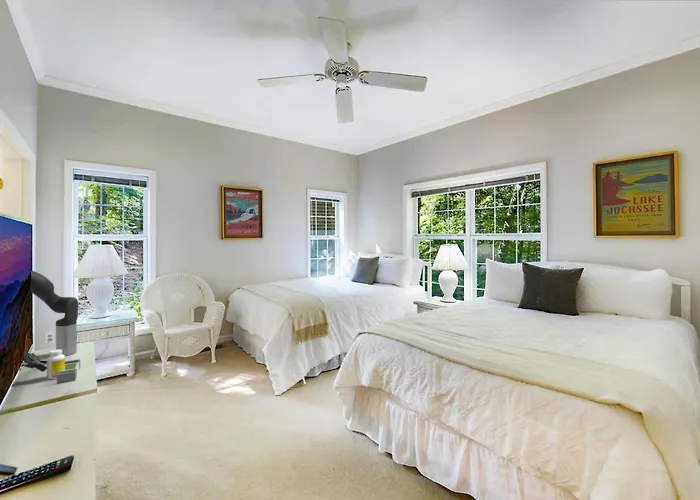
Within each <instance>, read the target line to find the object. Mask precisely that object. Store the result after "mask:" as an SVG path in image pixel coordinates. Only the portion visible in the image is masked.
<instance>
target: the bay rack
mask: <svg viewBox="0 0 700 500" xmlns="http://www.w3.org/2000/svg"><path fill="white" fill-rule="evenodd" d="M80 369H81V359H73V360H65V370H63V371H59V374H58V375H57V379H56V381H57V382H56V383H57V384H63V383H68V382H74V381H76V380H77V377H78V374H79V373H80V372H79V371H80Z"/></svg>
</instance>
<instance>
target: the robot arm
mask: <svg viewBox="0 0 700 500" xmlns="http://www.w3.org/2000/svg"><path fill="white" fill-rule="evenodd" d="M28 263H29V264H30V258H29V259H28ZM30 290H31V292H30V293H31V294H33V295H35V296H36V297H37V298H39V300H41V301H42V302H43V303H45V304H46V305H47V306H48V308H49V309H51V310H52V312H54V313H56V314H64V317H62V318H59V319H57V320H56V321H55V350H59V349H60V350H62V355H64V356H65V357H66V356H71V355H74V354H77V352H78V351H77V350H78V347H77V346H78V345H77V344H78V343H77V342H78V341H77V340H78V339H77V335H78V334H77V333H78V332H77V329H78V328H77V321H78V317H79V300H78V299H77V298H76V297H73V296H59V295H58V294H57V293H55V285H54V283H53V282H52V281H51V280H50V279H49V278H47V277H46V276H45V275H43V274H41V273H39V272H37V271H34V270H32V271H31V283H30ZM26 350H28V346H26V347H25V352H26V355H25V358H24V362H23V365H22V366H21V367H24V368H28V369H36V370H38V371H40V372H42V373H43V372H45V371H47V365H45V364H43V363H41V359H40V358H39V357H38V356H37V355H36V354H35V353H34V352H27V351H26Z"/></svg>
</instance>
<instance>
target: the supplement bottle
mask: <svg viewBox="0 0 700 500" xmlns="http://www.w3.org/2000/svg"><path fill="white" fill-rule="evenodd" d="M48 352H49V356H47V358H46V367H47V369H46V379H48V380H57V375H58V374H59V371H63V370H65V361H66V356H64V355H62V350H60V349H59V350H56V349H53V350H49V351H48Z"/></svg>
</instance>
